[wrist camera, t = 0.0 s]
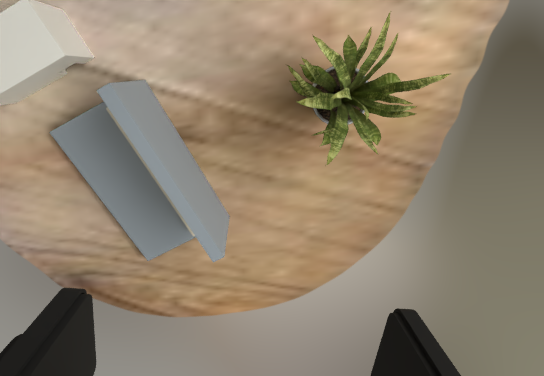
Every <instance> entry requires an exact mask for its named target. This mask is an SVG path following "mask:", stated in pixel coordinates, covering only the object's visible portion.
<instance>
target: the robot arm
mask: <svg viewBox="0 0 544 376" xmlns="http://www.w3.org/2000/svg"><path fill="white" fill-rule="evenodd" d="M95 368H96V351H95V335H94V320H93V303H92V296H91V295H90V294H87V293H86V290H85V289H77V288H63V289H61V290H60V291H59V293H58V294H57V295H56V296H55V297H54V298H53V299H52V301H51V302H50V303H49V304H48V305H47V306H46V307H45V309H44V310H43V311H42V312H41V314H39V316H38V317H37V318H36V319H35V320H34V321H33V323H32V324H31V325H30V326H29V327H28V329H27V330H26V331H25V332H24V333H23V334H20V335H18V336H16V337H15V338H14V339H13V340H12V341H11V342H10V343H9V344H8V345H7V346H6V347H5V349H4V350H3V351H2V352H1V353H0V376H93V375H94V372H95ZM371 376H461V375H460V374H459V372H458V371H457V369H456V368H455V366H454V365H453V364H452V362H451V361H450V359H449V358H448V356H447V355H446V354H445V352H444V351H443V349H442V348H441V346H440V345H439V343H438V342H437V341H436V339H435V338H434V336H433V335H432V334H431V332H430V331H429V329H428V328H427V326H426V325H425V323H424V322H423V320H421V318H420V316H419V315H418V313H417V312H416V311H415V310H411V309H395V310H394V312H393V313H390V314H389V316H388V319H387V323H386V326H385V329H384V333H383V337H382V339H381V342H380V346H379V349H378V352H377V356H376V359H375V363H374V366H373V369H372V373H371Z"/></svg>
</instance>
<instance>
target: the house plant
mask: <svg viewBox="0 0 544 376" xmlns="http://www.w3.org/2000/svg"><path fill="white" fill-rule="evenodd" d="M390 12H391V11H390ZM389 23H390V13H389V15H388V17H387V20H386V22H385V24H384V26H383V28H382V31H381V33H380V36H379V38H378V40H377V42H376V44H375V46H374V48H373V50H372V51H371V53H370V55H369V56H368V58H367V59H366V60H365V62H364V63H363V65H362V66H361V67H360V70H359V69H357V68H356V67H357V65H358V63H359V61H360V59H361V58H362V56H363V54H364V53H365V51H366V49H367V46H368V42H369V38H370V36H371V28H370V30H369V32H368V33H367V35H366V37H365V39H364V41H363V42H362V44H361V46H360V47H359V49H358V51H357V47H356V44H355V43H354V41H353V40H352V39H351V38H350V36H349V35H348V38H347V39H346V41H345V42H344V46H343V54H344V60H345V62H344V60H343V59H342V57H341V56H340V55H339V54H338V53H336V52H335V51H333V50H332V49H330V48H329V47H328V46H327V45H326V44H325V43H324V42H323V41H322V40H321V39H318V38H316V37H315V36H313V37H314V39H315V41H316V42H317V44H318V46H319V47H320V49H321V50H322V52H323V53H324V54H325V56H326V57H327V58H328V60H329V61H330V62H331V64H332V65H333V67H330V68H328V69H327V70H324V69H322V68H321V67H319V66H313V65H311V64H310V63H309V62H308V61H307V60H305V59H303V58H302V60H303V61H304V63H305V65H301V64H299V65H300V66H301V67H302V70H303V73H304V75H305V76H306V78H307V79H309V80H310V81H311V82H313V84H312V85H311V84H309V83H307V82H305V81H304V80H303V79H302V78H301V76H300V75H299V74H298V73H297V72H296V71H294V70H293V69H292V68H291V67H290V66H288V65H287V66H288V67H289V70H290V72H291V73H292V74H293V76H294V77H295V78H296V80H297V81H290V82H291V84H292V86H293V88H294V90H295V91H296V92H297V93H299V94H300V95H303V96H306V97H307V98H305V99H303V100H301V101H298V102H297V101H296V102H297V103H299V104H301V105H305V106H307V107H311V108H313V110H314V111H315V113H316V115H317V116H318V117H319V118H320V119H321V120H322V121H323V122H325V123H327V124H328V125H327V127H326V130H324V131H321V132H318V133H316V134H314V135H318V134H323V133H324V138H323V142H322V144H321V145H320V146H322V145H326V144H330V143H331V148H330V151H329V154H328V158H327V165H328V164H329V163H330V162H331V161H332V160H333V159H334V158H335V157H336V156H337V154H338V152H339V150H340V149H341V147H342V144H343V142H344V139H345V137H346V135H347V132H348V125H349V124H351V123H354V125H355V127H356V129H357V131H358V133H359V135H360V137H361V138H362V139H363V141H364V142H365V143H366V144H367V145H368V146H369V147H370V148H371V149H372V150H373V151H374V152H376V153H377V150H376V148H375V147H374V145H373V143H372V141H373V142H375V144H376V145H378V144H379V141H380V139H381V133H380V131H379V129H378V128H377V126H376V125H375V124H374V123H373V122H371V121H370V120H369V119H368V117H369V113H373V114H377V115H380V116H383V117H394V118H395V117H406V116H410V115H415V114H414V113H411V112H403V111H405V110H409V109H412V108H415V107H417V106H401V105H387V104H382V103H378V102H374V101H377V100H381V101H385V102H389V103H402V104H412V103H410V102H408V101H406V100H403V99H400V98H397V97H394V96H390V95H389V94H392V93H395V92H402V91H410V90H416V89H420V88H422V87H425V86H427V85H429V84H431V83H433V82H436V81H439V80H442V79H444V78H445V77H447V76H448V75H450V74H444V75H437V76H433V77H428V78H422V79H417V80H411V81H403V82H401V81H400V79H399V78H398V76H397V75H396V74H394V73H387V74H384V75H382V76H381V77H379V78H377V79H375V80H373V81H370V82H368V79H369V78H370V77H371V76H372V75H373V74H374V73H375V72H376V71H377V70H378V69H379V68H380V67H381V66H382V65H383V64H384V63H385V62H386V61H387V59H388V58H389V57H390V56H391V53H392V51H393V49H394V46H395V44H396V41H397V37H398V34H397V35H396V37H395V39H394V41H393V42H392V44H391V46H390V48H389V49H388V51H387V52H386V54H385V55H384V56H383V58H382V59H381V60H380V61H379V62H378V63H377V64H376V65H375V66H374V67H373V69H372V70H371V71H370V72H369V73H368V74H367V75H366V76H365V74H366V73H367V72H368V70H369V69H370V68H371V66H372V65H373V64H374V62H375V61H376V59H377V58H378V56H379V55H380V53H381V51H382V50H383V47H384V43H385V39H386V34H387V31H388V27H389ZM364 112H365V115H366V116H365V115H364V114H363V113H364ZM312 136H313V135H312ZM377 154H378V153H377ZM378 155H379V154H378ZM325 166H326V165H325Z"/></svg>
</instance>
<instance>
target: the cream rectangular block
mask: <svg viewBox="0 0 544 376" xmlns="http://www.w3.org/2000/svg"><path fill="white" fill-rule="evenodd" d="M94 58H95V57H94V56H93V54H92V53H91V51H90V49H89V48H88V46H87V45H86V43H85V42H84V40H83V39H82V37H81V36H80V34H79V33H78V31H77V30H76V28H75V27H74V25H73V24H72V22H71V21H70V19H69V18H68V16H67V15H66V13H65V11H64V10H63V9H60V8H57V7H54V6H51V5H48V4H45V3H42V2H39V1H36V0H20V1H19V2H17V3H15V4H14V5H12V6H11V7H9V8H7V9H6V10H4V11H3V12H1V13H0V105H7V104H14V103H18V102H20V101H22V100H23V99H25V98H27V97H29V96H30V95H32V94H34V93H35V92H37V91H39V90H41V89H42V88H44V87H46V86H47V85H49V84H51V83H53V82H54V81H56V80H58V79H60V78H61V77H63V76H65V75H66V74H68V73H67V72H66V70H65V69H66V68H68V67H69V66H71V65H73V64H75V63H82V64H85V63H87V62H89V61H90V60H92V59H94Z"/></svg>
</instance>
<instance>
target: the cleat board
mask: <svg viewBox="0 0 544 376" xmlns="http://www.w3.org/2000/svg"><path fill="white" fill-rule="evenodd" d="M96 91H97V92H98V94H99V95H100V96H101V98H102V99H103V101H104V102H102V103H100V104H99V105H97V106H95V107H93V108H91V109H90V110H88V111H86V112H84V113H83V114H81V115H79V116H77V117H76V118H74V119H72V120H70V121H68V122H67V123H65V124H63V125H61V126H60V127H58V128H56V129H54V130H53V131H51V132H50V134H51V135H52V136H53V138H54V139H55V140H56V142H57V143H58V144H59V146H60V147H61V148H62V149H63V151H64V152H65V153H66V155H67V156H68V157H69V159H70V160H71V161H72V163H73V164H74V165H75V166H76V168H77V169H78V170H79V172H80V173H81V174H82V176H83V177H84V178H85V180H86V181H87V182H88V183H89V185H90V186H91V187H92V189H93V190H94V191H95V193H96V194H97V195H98V197H99V198H100V199H101V200H102V202H103V203H104V204H105V206H106V207H107V208H108V210H109V211H110V212H111V213H112V215H113V216H114V217H115V219H116V220H117V221H118V223H119V224H120V225H121V227H122V228H123V229H124V230H125V232H126V233H127V234H128V236H129V237H130V238H131V240H132V241H133V242H134V244H135V245H136V246H137V247H138V249H139V250H140V251H141V253H142V254H143V255H144V257H145V258H146V259H147V261H149V260H151V259H153V258H155V257H157V256H159V255H161V254H163V253H165V252H167V251H169V250H171V249H173V248H175V247H177V246H179V245H181V244H183V243H185V242H187V241H189V240H191V239H193V238H195V237H196V238H197V239H198V241H199V242H200V244H201V245H202V247H203V248H204V250H205V251H206V252H207V254H208V255H209V257H210V258H211V260H212V261H213V262H215V261H217V260H219V259H221V258H223V257H224V255H225V247H226V240H227V232H228V225H229V217H230V216H229V214H228V213H227V211H226V210H225V208H224V206H223V205H222V203H221V202H220V200H219V198H218V197H217V195H216V193H215V192H214V190H213V189H212V187H211V185H210V184H209V182H208V181H207V179H206V177H205V176H204V174H203V172H202V171H201V169H200V168H199V166H198V164H197V163H196V161H195V160H194V158H193V156H192V155H191V153H190V151H189V150H188V148H187V147H186V145H185V143H184V142H183V140H182V139H181V137H180V135H179V134H178V132H177V130H176V129H175V127H174V126H173V124H172V122H171V121H170V119H169V118H168V116H167V114H166V113H165V111H164V110H163V108H162V106H161V105H160V103H159V101H158V100H157V98H156V97H155V95H154V93H153V92H152V90H151V89H150V87H149V85H148V84H147V82H146V80H139V81H127V82H116V83H109V84H107V85H105V86H103V87H102V88H100V89H98V90H96Z"/></svg>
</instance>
